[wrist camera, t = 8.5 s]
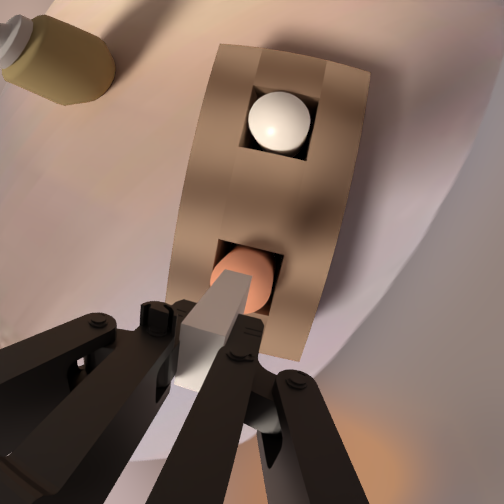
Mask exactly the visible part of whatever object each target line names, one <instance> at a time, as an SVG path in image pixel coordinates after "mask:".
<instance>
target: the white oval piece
mask: <svg viewBox="0 0 504 504" xmlns="http://www.w3.org/2000/svg"><path fill="white" fill-rule="evenodd" d="M248 122H249V127H250V130H251V132H252V134H253V136H254V137H255V139H256V140H257V142H258V144H259V145H260V147H261V148H262V150H263V151H264V152H268V153H273V154H277V155H282V156H286V157H291V158H292V157H294V156H295V155H297V154H298V153H299V152H300V151H301V150H302V148H303V146H304V143H305V140H306V137H307V133H308V130H309V126H310V115H309V111H308V109H307V107H306V106H305V104H304V103H303V102H302V101H301V100H300V99H299V98H297V97H296V96H294V95H292V94H289V93H286V92H272V93H269V94H266V95H264V96H262V97H261V98H259V99H258V100H257V101H256V102H255V103H254V104H253V106H252V108H251V110H250V113H249V119H248Z"/></svg>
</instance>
